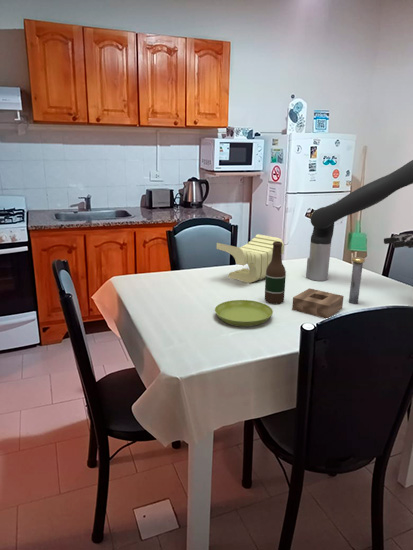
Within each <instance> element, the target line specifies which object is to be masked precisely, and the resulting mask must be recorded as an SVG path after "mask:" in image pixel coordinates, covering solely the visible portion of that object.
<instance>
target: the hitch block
mask: <svg viewBox="0 0 413 550" xmlns="http://www.w3.org/2000/svg"><path fill="white" fill-rule="evenodd" d="M343 304H344V295H341V294H337V293H332V292H328V291H325V290H319V289H314V288H307V289H306V290H304V291H302V292H300V293H298V294H296V295H294V296H293V297H292V305H291V306H292V307H291V311H295V312H299V313H301V314H302V313H303V314H307V315H310V316H311V315H312V316H314V317H318V318H322V319H326V318H328V319H329V317H330V318H331V317H332V316H335V314H337V312H339V311H340V310H342V309H343V307H344V305H343ZM326 320H327V319H326Z"/></svg>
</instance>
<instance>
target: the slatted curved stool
mask: <svg viewBox="0 0 413 550" xmlns="http://www.w3.org/2000/svg"><path fill="white" fill-rule="evenodd" d="M273 242H282V255H284V250H285V243H284V241H283V239H281V238H279V237H275V236H270V235H264V234H261V233H257V234H256V235H255V237H253V238H252V239H251V240H250V241H248V243H246V244H244V245H242V246H240V247H239V246H234V245H229V244H226V243H219V242H216V250H220V251H223V252H226V253H228V254H230V255H231V256H232V257H233V259H234V260H235V264H236V265H239V266H240V265H241V266H246V265H247V266H248V268H241V269H238V270H234V271H231V272H229V274H228V277H227V278H230V279H233V280H238V281H242V282H245V283H250V284H251V283H254V282H256V281H260V280H262V279H266V269H267V267H268V265H269V264H270V263H271V260H272V253H273Z"/></svg>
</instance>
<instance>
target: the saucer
mask: <svg viewBox="0 0 413 550" xmlns="http://www.w3.org/2000/svg"><path fill="white" fill-rule="evenodd" d="M214 312H215V314H216V316H217V317H218V318H219V319H220V320H221V321H223V322H224V323H226V324H228V325H230V326H231V325H232V326H235V327H256V326H259V325H262V324H264V323H266V322H267V321H269V319H270V318H271V317H272V316H273V313H274V310H273V308H272V307H270V305H268V304H266V303H263V302H261V301H255V300H250V299H249V300H247V299H234V300H228V301H224V302H221V303H219V304H217V305H216V306H215V307H214Z"/></svg>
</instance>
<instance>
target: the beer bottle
mask: <svg viewBox="0 0 413 550" xmlns="http://www.w3.org/2000/svg"><path fill="white" fill-rule="evenodd" d="M282 255H283V254H282V242H273V253H272V260H271V263H270V264H269V265H268V267H267V269H266V278H265V284H264V301H265V302H266V303H268V304H271V305H280V304H283V303H284V301H285V291H286V276H287V275H286V272H287V271H286V267H285V265H284V263H283V260H282V258H283V257H282Z"/></svg>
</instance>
